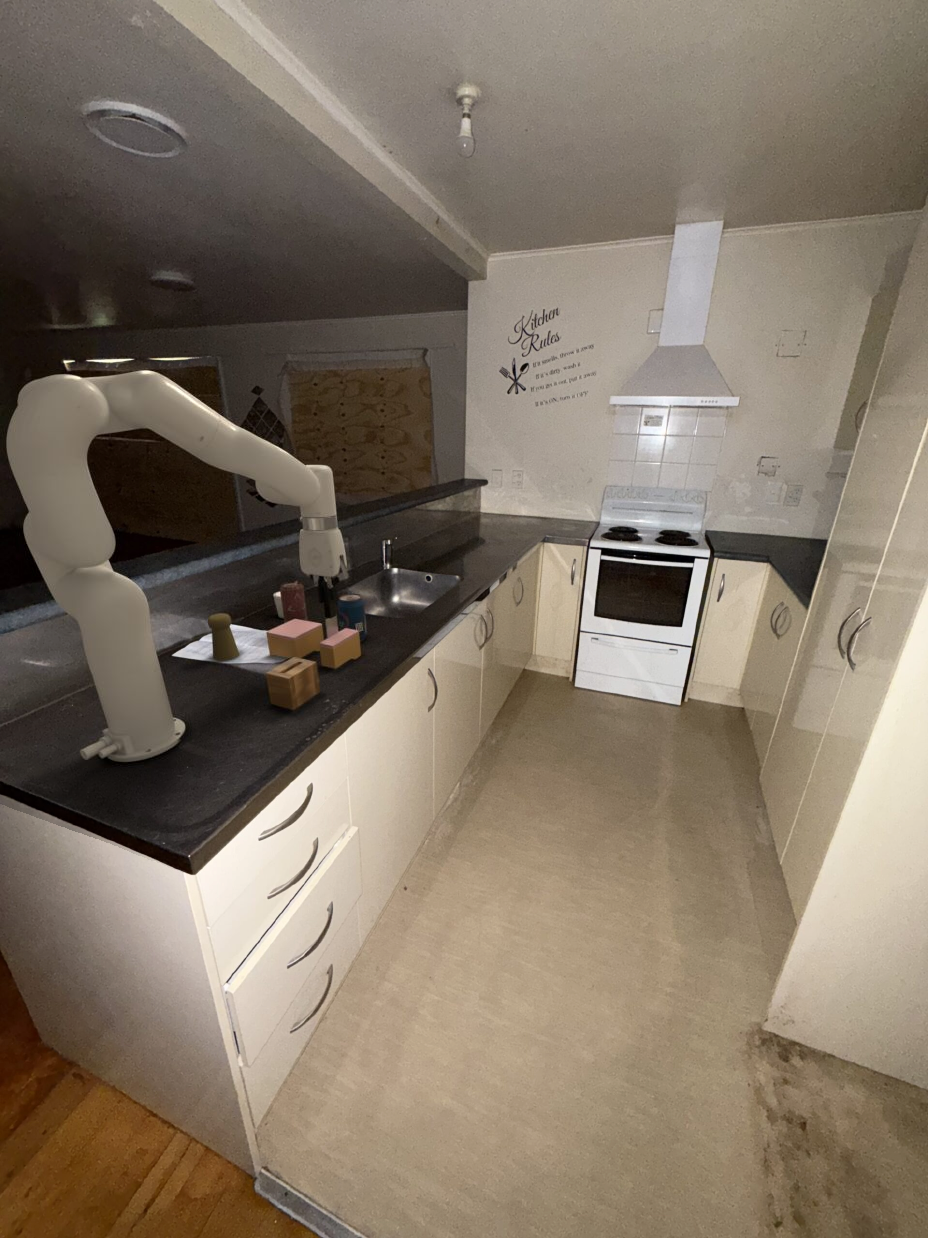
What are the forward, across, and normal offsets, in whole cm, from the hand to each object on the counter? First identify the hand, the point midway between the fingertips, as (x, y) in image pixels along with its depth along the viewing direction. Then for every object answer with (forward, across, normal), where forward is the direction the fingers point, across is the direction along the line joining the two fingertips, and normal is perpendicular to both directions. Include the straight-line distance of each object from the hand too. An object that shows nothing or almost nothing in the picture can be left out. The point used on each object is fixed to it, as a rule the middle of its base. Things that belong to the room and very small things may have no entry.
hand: (328, 601), depth 114 cm
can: (+16, -22, +11) cm, 29 cm away
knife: (+15, 0, 0) cm, 15 cm away
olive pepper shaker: (+16, -27, -9) cm, 32 cm away
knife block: (+15, +5, -19) cm, 25 cm away
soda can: (+16, -4, +13) cm, 21 cm away
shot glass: (+16, -34, +20) cm, 42 cm away
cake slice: (+15, +2, 0) cm, 15 cm away
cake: (+15, -12, 0) cm, 19 cm away
